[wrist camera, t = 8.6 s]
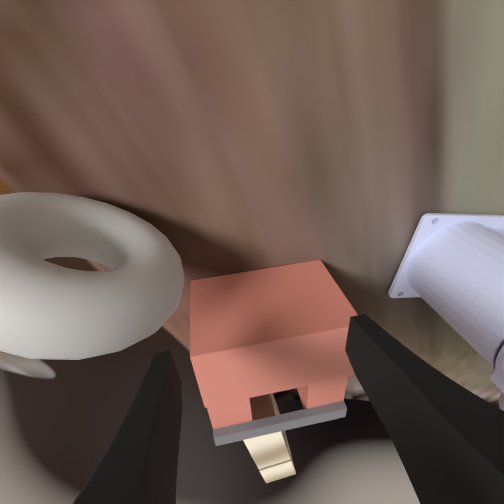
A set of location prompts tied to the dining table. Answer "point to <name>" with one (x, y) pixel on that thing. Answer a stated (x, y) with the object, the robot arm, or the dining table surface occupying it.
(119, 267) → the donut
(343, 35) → the dining table surface
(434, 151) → the dining table surface
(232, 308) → the dispenser
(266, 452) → the cream block
